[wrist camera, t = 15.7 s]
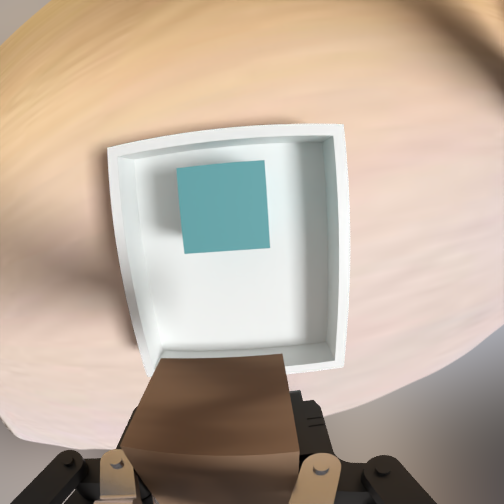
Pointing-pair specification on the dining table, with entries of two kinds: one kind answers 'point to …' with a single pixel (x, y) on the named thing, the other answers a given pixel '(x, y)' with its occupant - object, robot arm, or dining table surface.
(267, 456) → the walnut block
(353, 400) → the dining table surface
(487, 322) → the dining table surface
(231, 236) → the teal block
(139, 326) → the white tray
